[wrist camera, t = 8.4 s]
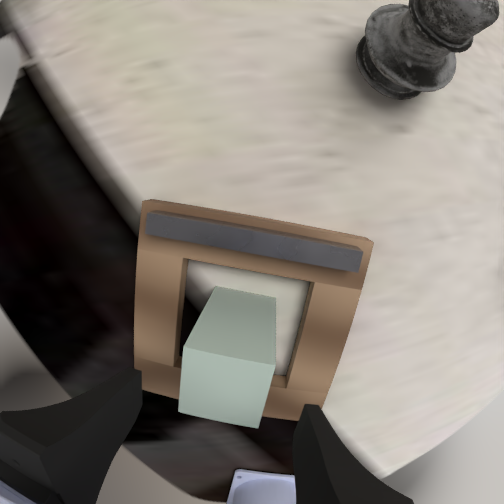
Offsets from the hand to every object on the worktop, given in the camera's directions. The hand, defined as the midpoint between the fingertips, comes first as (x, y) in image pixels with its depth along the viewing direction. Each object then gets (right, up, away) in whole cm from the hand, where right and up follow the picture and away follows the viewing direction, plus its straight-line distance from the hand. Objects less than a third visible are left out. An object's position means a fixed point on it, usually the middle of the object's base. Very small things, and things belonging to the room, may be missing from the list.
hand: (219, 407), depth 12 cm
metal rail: (+1, +8, +6) cm, 10 cm away
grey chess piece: (+11, +19, +4) cm, 22 cm away
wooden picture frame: (+1, +2, +9) cm, 9 cm away
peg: (+1, +2, +9) cm, 9 cm away
